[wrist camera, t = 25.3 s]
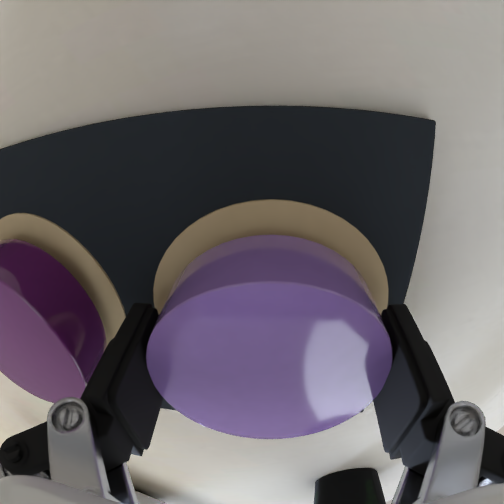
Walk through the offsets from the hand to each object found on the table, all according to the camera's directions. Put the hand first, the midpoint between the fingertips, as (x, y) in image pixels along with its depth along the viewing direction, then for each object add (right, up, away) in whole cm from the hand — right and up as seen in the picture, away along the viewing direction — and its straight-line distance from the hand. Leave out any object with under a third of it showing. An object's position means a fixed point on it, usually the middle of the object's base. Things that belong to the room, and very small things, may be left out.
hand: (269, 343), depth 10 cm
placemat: (-5, +1, +2) cm, 5 cm away
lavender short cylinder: (0, +1, +1) cm, 1 cm away
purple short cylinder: (-10, +1, +2) cm, 10 cm away
